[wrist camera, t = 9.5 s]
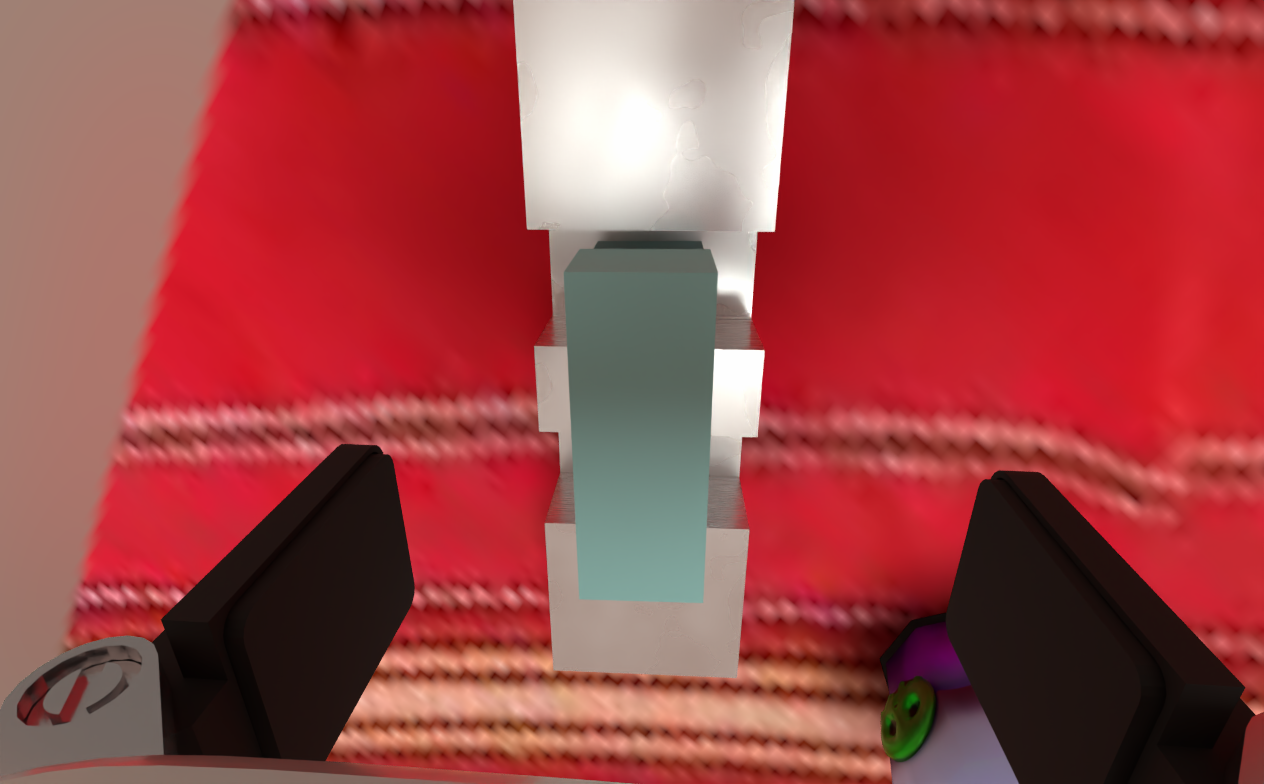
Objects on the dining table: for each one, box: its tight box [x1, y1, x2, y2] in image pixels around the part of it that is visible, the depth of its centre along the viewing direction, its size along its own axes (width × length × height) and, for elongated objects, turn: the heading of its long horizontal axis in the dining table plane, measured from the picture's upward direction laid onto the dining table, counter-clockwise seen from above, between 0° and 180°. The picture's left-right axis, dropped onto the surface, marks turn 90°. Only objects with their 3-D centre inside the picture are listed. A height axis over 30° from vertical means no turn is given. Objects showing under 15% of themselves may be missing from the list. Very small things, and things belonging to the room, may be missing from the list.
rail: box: [513, 0, 794, 678], centre depth 19 cm, size 20×6×4 cm, turn 0°
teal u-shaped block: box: [564, 241, 718, 603], centre depth 17 cm, size 8×3×6 cm, turn 0°
